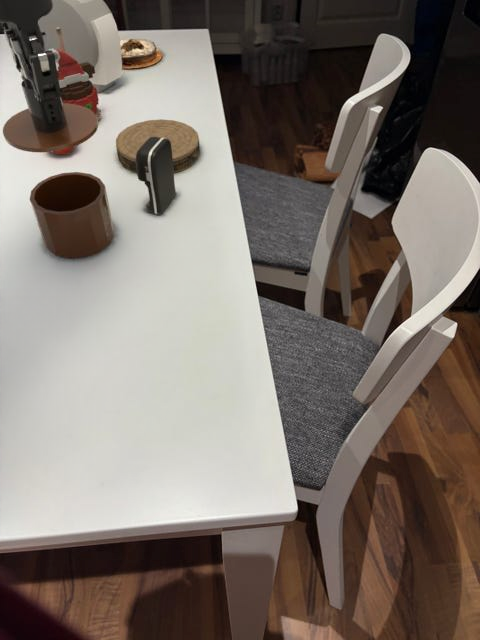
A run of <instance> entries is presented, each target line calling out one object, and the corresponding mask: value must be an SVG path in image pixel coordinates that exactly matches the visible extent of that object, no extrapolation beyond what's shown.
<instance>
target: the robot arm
mask: <svg viewBox="0 0 480 640" xmlns="http://www.w3.org/2000/svg"><path fill="white" fill-rule="evenodd" d="M52 8H53V3H52V0H0V25H1V27H2V28H3V32H4V37H5V40H6V42H7V44H8V46H9V48H10V52H11V56H12V59H13V62H14V64H15V68H16V70H18V73H20V74H21V76H20V77H21V80H22V81H23V80H25V79H27V80H30V81H31V84H32V87H33V90H34V93H35V94H34V96H35V98H36V99H37V101H38V105H39V108H40V112H41V115H42V119H43V122H44V125H45V127H46V128H47V129H52V128H56V127H60V126H62V124H63V121H62V117H61V113H60V109H59V105H58V102H57V98H61V90H60V85H59V79H58V74H57V68H56V62H55V55H54V53H53V52H52V50H50V51H49V47H50V45H49V42H48V38H47V35H46V33H45V31H44V32H41V29H40V27H39V25H38V20H39V19H40V18H41V17H43V16H46V15H48V14H49V13H50V12H51V10H52ZM47 84H49V86H50V87H48V88H42V87H43V86H44V85H47Z"/></svg>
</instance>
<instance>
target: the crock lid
mask: <svg viewBox="0 0 480 640" xmlns="http://www.w3.org/2000/svg"><path fill="white" fill-rule="evenodd" d="M20 85H21V88H22V92H23V95H24V98H25V101H26V105H27V108H26V109H23V110H21V111H18V112H17V113H15V114H13V115H12V116H11V117H10V118H9V119H7V120H6V122H5V123H4V125H3V127H2V135H3V138H4V140H5V141H6V143H7V144H8V145H9V146H11V147H13V148H15V149H17V150H19V151H24V152H27V153H28V152H29V153H53V152H54V151H60V150H65V149H68V148H72V147H74V148H75V147H77V146H79V145H81V144H83V143H85V142H86V141H88V140H89V139H91V138H92V137H93V136H94V135H95V134H96V132H97V131H98V128H99V119H98V120H97V117H96V115H95V114H94V113H93V112H92V111H91V110H90V109H88V108H86V107H83V106H80V105H75V104H68V103H62V100H61V98H57V102H58V105H59V109H60V113H61V117H62V121H63V124H62V126H60V127H56V128H52V129H47V128H46V127H45V125H44V122H43V119H42V115H41V112H40V108H39V105H38V101H37V99H36V98H35V96H34V94H35V93H34V90H33V87H32V84H31V81H30V80H27V79H25V80H22V81H21V84H20ZM48 87H50V86H49V84H47V85H44V86H43V87H42V88H48Z"/></svg>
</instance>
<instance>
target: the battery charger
mask: <svg viewBox="0 0 480 640" xmlns="http://www.w3.org/2000/svg"><path fill="white" fill-rule="evenodd" d="M136 169H137V173H136V174H137V179H138V181H139V182H144V185H145V187H147V191H148V195H149V201H148V202H147V204H146V206H145V207H146V210H147V211H148V212H150V213H154V214H156V215H161V214H162V213H163V212H164V211H165V210H166V209H167V207H168V206H169V204H170V203H171V201H172V200H173V199H174V197H175V196H176V194H177V192H176V184H175V182H176V181H175V173H174V169H173V157H172V148H171V143H170V140H168V139H166V138H160V137H150V138H149V139H148V140H147V141H146V142H145V143H144V144H143V145H142V146H141V147H140V149H139V150H138V151H137V153H136Z"/></svg>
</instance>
